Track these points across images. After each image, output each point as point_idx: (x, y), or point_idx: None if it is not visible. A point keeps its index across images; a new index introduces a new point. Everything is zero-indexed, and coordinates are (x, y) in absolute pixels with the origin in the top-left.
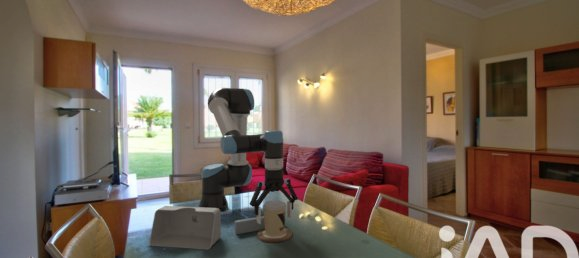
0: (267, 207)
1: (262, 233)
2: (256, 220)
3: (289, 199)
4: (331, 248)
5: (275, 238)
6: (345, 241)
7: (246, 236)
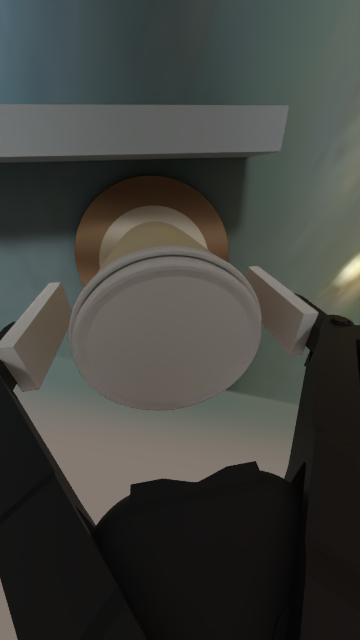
0: (99, 388)
1: (99, 251)
2: (57, 157)
3: (305, 373)
4: (256, 382)
5: None
6: None
7: (17, 222)
